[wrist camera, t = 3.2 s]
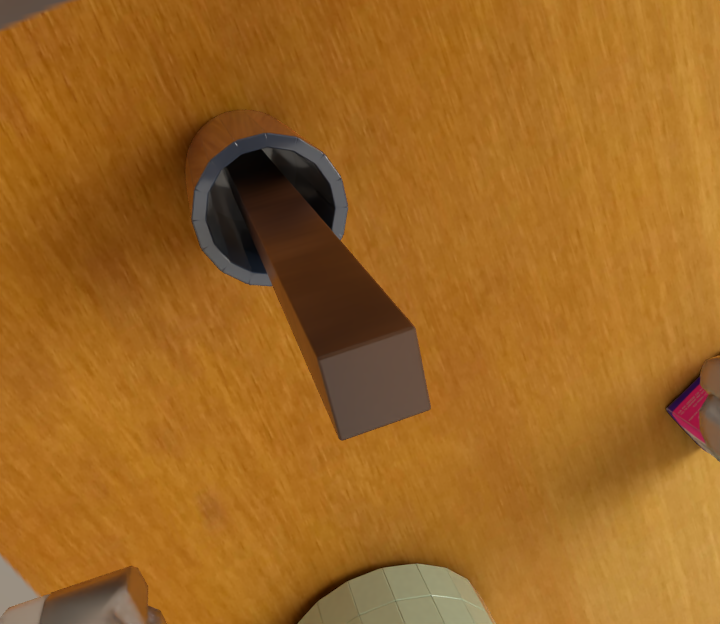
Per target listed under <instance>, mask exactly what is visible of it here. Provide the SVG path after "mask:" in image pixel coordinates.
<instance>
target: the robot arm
mask: <svg viewBox="0 0 720 624" xmlns="http://www.w3.org/2000/svg"><path fill="white" fill-rule="evenodd" d="M700 386H701V387H702V388H703V389H704V390H705V391H706V392H707V393H708V394H709V395H708V396H707V398H706V400H705V401H704V403H703V405H702V407H701V408H700V410H699V427H700V432H701V434H702V436H703V439H704V441H705V443H706V446H707V448H708V449H709V450H710V451H711V453H712V454H713V455H714V456H715V458H716V459H717V460H718V461H719V462H720V355H718V356H715V357H713V358H710V359H707V360H706V361H705V363H704V365H703V366H702V368H701V371H700ZM0 624H167V623H166V621H165V619H164V617H163V615H162V613H161V611H160V610H157V609H155V608H153V607H150V606H148V585H147V583H146V582H145V580H144V578H143V576H142V574H141V573H140V571H139V569H138V568H136V567H133V566H129V567H126V568H123V569H120V570H117V571H114V572H111V573H108V574H105V575H102V576H99V577H96V578H93V579H90V580H87V581H84V582H81V583H78V584H75V585H72V586H69V587H66V588H63V589H60V590H57V591H54V592H51V594H49V595H45V596H42V597H39V598H36V599H33V600H30V601H27V602H24V603H21V604H18V605H15V606H12V607H9V608H8V609H7V610H6V612H5V613H4V614H3V615H2V616H1V618H0Z"/></svg>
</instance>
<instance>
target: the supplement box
mask: <svg viewBox="0 0 720 624" xmlns="http://www.w3.org/2000/svg"><path fill="white" fill-rule="evenodd" d="M708 395H709V394H708V393H707V392H706V391H705V390H704V389H703V388H702V387H701V386H700V376H699V377H698V378H697V379H696V380H695V381H694V382H693V383H692V384H691V385H690V386H689V387H688V388H687V389H686V390H685V391H684V392H683V393H682V394H681V395H680V396H679V397H678V398H676V399H675V400H674V401H673V402H672V403H671V404H670V405H669V406H668V407H667V408H666V410H667V412H668V413H669V414H670V415H671V417H672V418H673V419H674V420H675V421H676V422H677V423H678V424H679V425H680V426H681V428H682V429H683V430H684V431H685V432H686V433H687V434H688V435H689V436H690V437H691V438H692V439H693V440H694V441H695V442H696V443H697V444H698V445H699V446H700V447H701V448H702V449H703V450H705V451H706V452H708V453H710V454H711V455H712V456H714V455H713V454H712V453H711V451H710V450H709V449H708V448H707V446H706V443H705V441H704V439H703V436H702V434H701V432H700V427H699V410H700V408H701V407H702V405H703V403H704V401H705V400H706V398H707V396H708ZM714 457H715V456H714Z"/></svg>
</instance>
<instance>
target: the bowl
mask: <svg viewBox="0 0 720 624" xmlns="http://www.w3.org/2000/svg"><path fill="white" fill-rule="evenodd" d="M297 624H496V622H495V620H494V619H493V617H492V615H491V613H490V612H489V610H488V608H487V606H486V605H485V603H484V601H483V599H482V598H481V596H480V595H479V593H478V592H477V591H476V589H475V588H474V587H473V585H472V584H471V583H470V581H469V580H468V579H466V578H464V577H462V576H460V575H458V574H457V573H455V572H453V571H451V570H449V569H447V568H445V567H439V566H432V565H425V564H418V563H416V564H406V565H399V566H392V567H384V568H380V569H377V570H374V571H372V572H369V573H367V574H364V575H362V576H359V577H356V578H354V579H351V580H349V581H348V582H345V583H344V584H342V585H341V586H339V587H338V588H336V589H335V590H333V591H332V592H331V593H329V594H328V595H326V596H325V597H323V598H322V599H320V600H319V601H318V602H316V603H315V605H314V606H313V607H312V608H311V609H310V610H309V611H308V612H307V613H306V614H305V616H304V617H303V618H302V619H301V620H300V621H299V622H298V623H297Z"/></svg>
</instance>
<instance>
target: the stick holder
mask: <svg viewBox="0 0 720 624" xmlns="http://www.w3.org/2000/svg"><path fill="white" fill-rule="evenodd" d="M260 149H262V150H263V151H264V153H265V154H266V155H267V156H268V157H269V158H270V160H271V161H272V162H273V163H274V164H275V165H276V167H277V168H278V169H279V170H280V171H281V172H282V173H283V175H284V176H285V177H286V178H287V179H288V180H289V182H290V183H291V184H292V185H293V186H294V187H295V189H296V190H297V191H298V192H299V193H300V194H301V196H302V197H303V198H304V199H305V200H306V201H307V202H308V204H309V205H310V206H311V207H312V208H313V209H314V211H315V212H316V213H317V214H318V215H319V216H320V218H321V219H322V220H323V221H324V222H325V223H326V225H327V226H328V227H329V228H330V229H331V230H332V231H333V233H334V234H335V235H336V236H337V237H338V238H339V240H341V238H342V237H343V234H344V230H345V223H346V217H347V211H348V207H347V206H348V203H347V199H346V194H345V190H344V185H343V181H342V178H341V176H340V174H339V173H338V172H337V170H336V169H335V167H334V166H333V165H332V163H331V162H330V160H329V159H328V158H327V156H326V155H325V154H324V153H323V152H322V151H321V150H319V149H318V148H316V147H315V146H314V145H312V144H311V143H310V142H308V141H307V140H306V139H304V138H303V137H301V136H300V135H299V134H297V133H296V132H295V131H293V130H292V129H290V128H289V127H288V126H286V125H285V124H283V123H281V122H280V121H278V120H277V119H275V118H273V117H272V116H270V115H268V114H266V113H262V112H258V111H254V110H234V111H229V112H226V113H223V114H220V115H218V116H216V117H214V118H213V119H211V120H210V121H208V122H207V123H206V124H205V125H204V126H203V127H202V128H201V129H200V130H199V131H198V132H197V134H196V135H195V137H194V138H193V140H192V142H191V144H190V146H189V149H188V152H187V156H186V163H185V180H186V187H187V194H188V200H189V207H190V214H191V220H192V224H193V227H194V230H195V233H196V236H197V239H198V242H199V245H200V248H201V249H202V251H203V252H204V253H205V254H206V255H207V256H208V258H209V259H210V260H211V261H212V262H213V263H214V264H215V265H216V266H217V268H218V269H219V270H220V271H222V272H223V273H225V274H227V275H229V276H231V277H233V278H235V279H238V280H240V281H242V282H244V283H246V284H249V285H260V286H272V283H271V281H270V279H269V277H268V274H267V272H266V270H265V267H264V265H263V263H262V260H261V258H260V256H259V254H258V251H257V249H256V247H255V244H254V242H253V240H252V237H251V235H250V233H249V231H248V228H247V226H246V224H245V221H244V219H243V217H242V214H241V212H240V210H239V208H238V205H237V203H236V201H235V198H234V196H233V193H232V189H231V186H230V183H229V179H228V176H227V173H226V170H225V167H227V166H228V165H229V164H230V163H232V162H233V161H234V160H235V159H237V158H238V157H239V156H241V155H242V154H246V153H249V152H253V151H257V150H260Z"/></svg>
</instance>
